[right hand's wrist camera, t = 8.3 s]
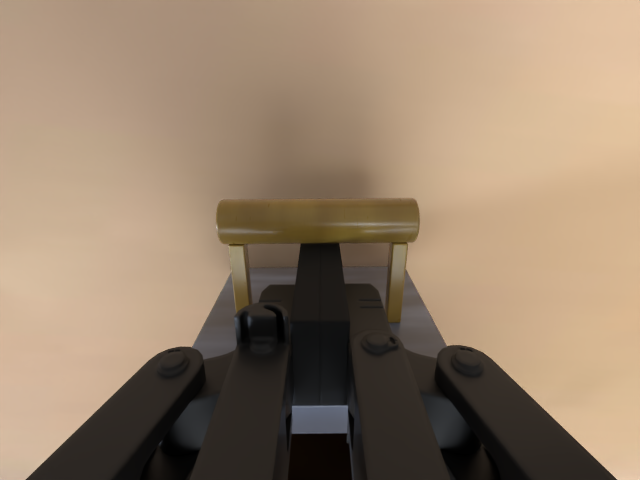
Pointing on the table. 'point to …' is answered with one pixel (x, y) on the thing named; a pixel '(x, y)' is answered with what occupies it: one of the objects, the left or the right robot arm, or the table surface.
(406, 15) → the table surface
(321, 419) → the drawer
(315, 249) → the right robot arm
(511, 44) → the table surface
